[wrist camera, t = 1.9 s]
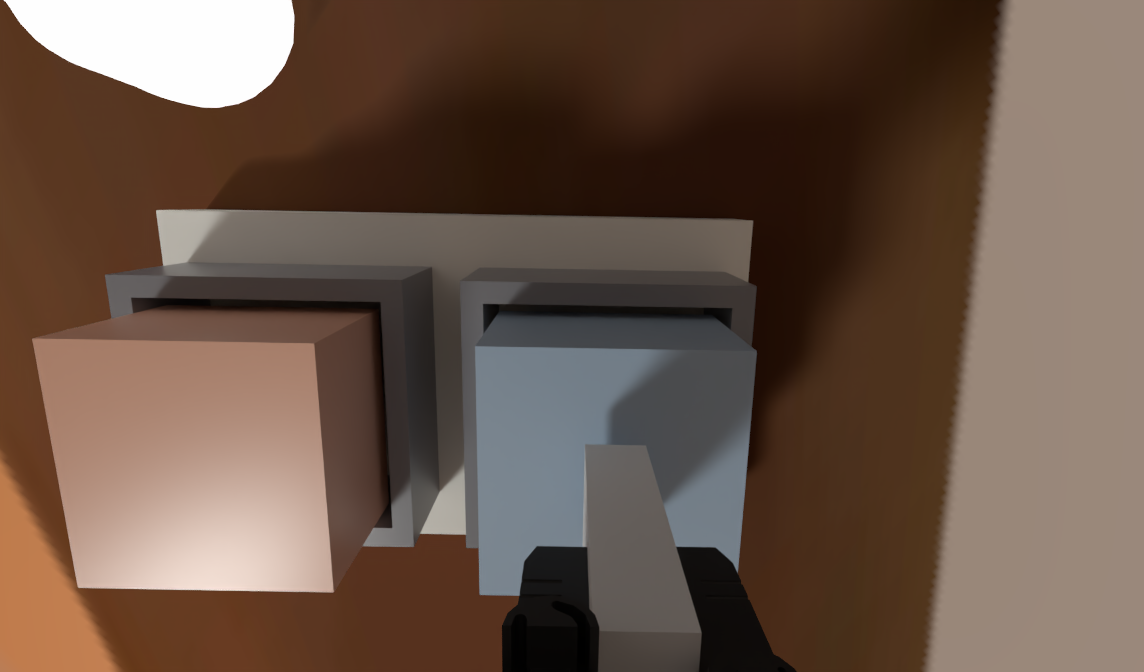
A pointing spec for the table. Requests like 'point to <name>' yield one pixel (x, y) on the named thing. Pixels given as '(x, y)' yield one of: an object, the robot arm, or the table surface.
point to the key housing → (442, 307)
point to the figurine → (169, 43)
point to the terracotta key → (218, 445)
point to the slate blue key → (607, 426)
